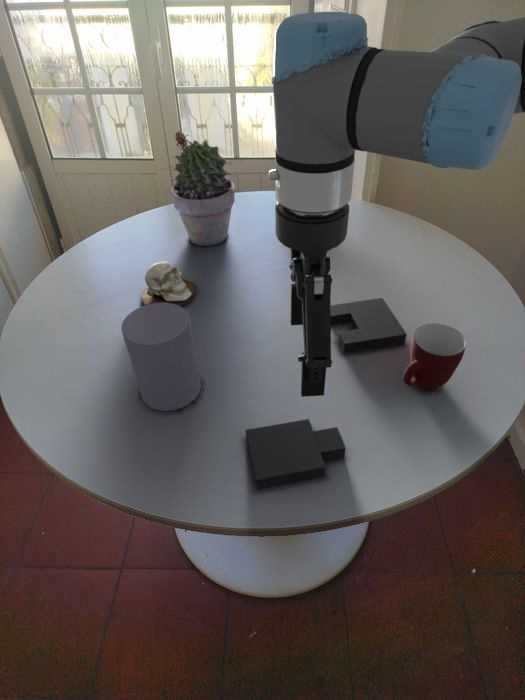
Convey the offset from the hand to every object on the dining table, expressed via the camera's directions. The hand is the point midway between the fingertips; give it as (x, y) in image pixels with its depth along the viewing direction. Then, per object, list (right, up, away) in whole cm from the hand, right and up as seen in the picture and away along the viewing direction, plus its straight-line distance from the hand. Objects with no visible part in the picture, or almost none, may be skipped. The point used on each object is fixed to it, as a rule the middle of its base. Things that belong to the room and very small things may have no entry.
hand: (305, 355), depth 62 cm
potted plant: (-19, +30, +61) cm, 71 cm away
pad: (-1, -15, +9) cm, 18 cm away
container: (-22, -6, +20) cm, 30 cm away
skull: (-26, +13, +42) cm, 51 cm away
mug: (+22, -6, +19) cm, 30 cm away
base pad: (+14, +5, +31) cm, 34 cm away
